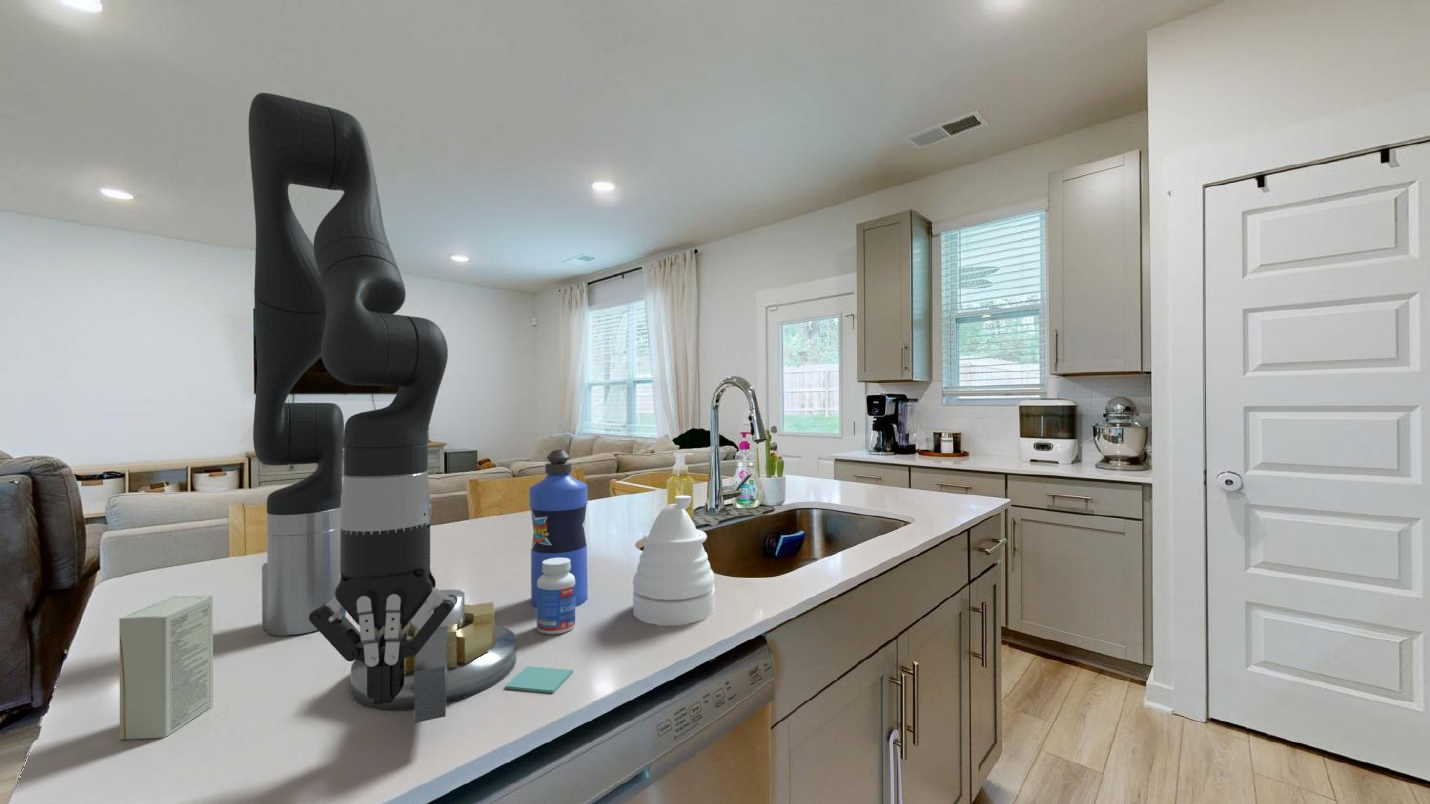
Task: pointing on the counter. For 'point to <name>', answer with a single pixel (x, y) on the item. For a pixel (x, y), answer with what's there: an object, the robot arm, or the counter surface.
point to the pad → (539, 679)
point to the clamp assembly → (448, 658)
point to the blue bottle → (559, 523)
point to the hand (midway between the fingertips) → (386, 699)
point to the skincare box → (165, 666)
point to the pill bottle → (556, 597)
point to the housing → (460, 678)
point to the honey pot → (674, 571)
